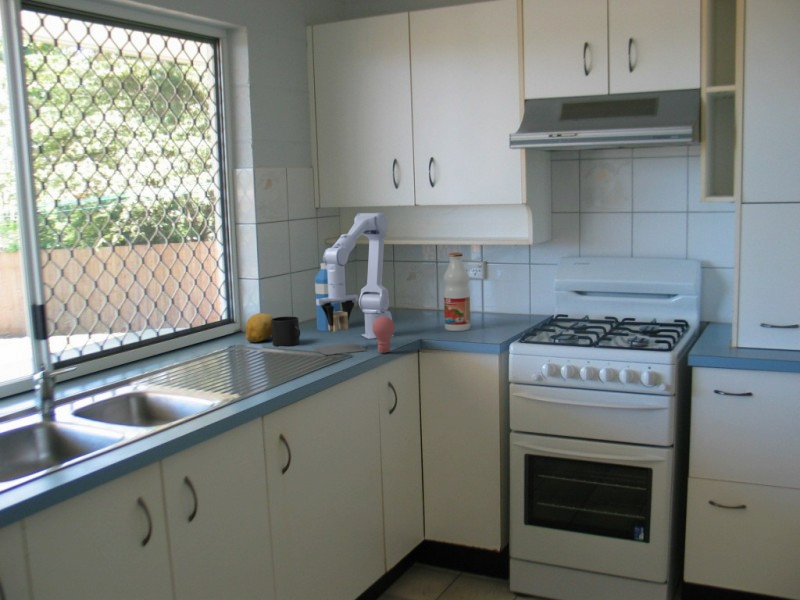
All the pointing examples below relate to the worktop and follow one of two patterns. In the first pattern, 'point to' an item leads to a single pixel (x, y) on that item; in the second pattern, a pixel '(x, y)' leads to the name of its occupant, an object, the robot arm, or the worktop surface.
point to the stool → (339, 321)
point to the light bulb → (383, 332)
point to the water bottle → (322, 292)
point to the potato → (258, 327)
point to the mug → (285, 331)
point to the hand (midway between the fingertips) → (338, 324)
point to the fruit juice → (456, 295)
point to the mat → (340, 349)
